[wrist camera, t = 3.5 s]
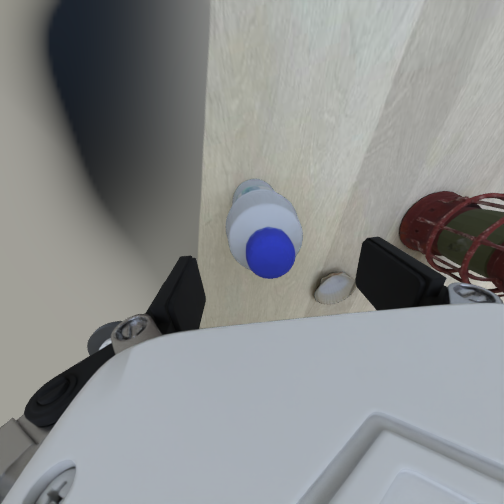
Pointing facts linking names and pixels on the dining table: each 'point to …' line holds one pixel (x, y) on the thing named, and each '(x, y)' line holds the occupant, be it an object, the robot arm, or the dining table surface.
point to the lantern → (458, 235)
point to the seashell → (335, 288)
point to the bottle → (263, 229)
